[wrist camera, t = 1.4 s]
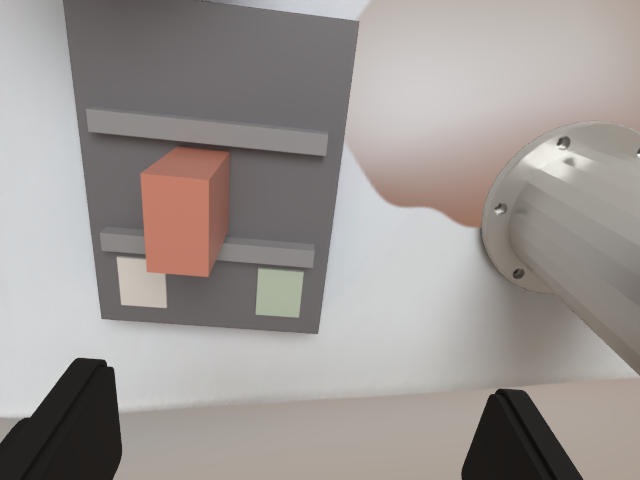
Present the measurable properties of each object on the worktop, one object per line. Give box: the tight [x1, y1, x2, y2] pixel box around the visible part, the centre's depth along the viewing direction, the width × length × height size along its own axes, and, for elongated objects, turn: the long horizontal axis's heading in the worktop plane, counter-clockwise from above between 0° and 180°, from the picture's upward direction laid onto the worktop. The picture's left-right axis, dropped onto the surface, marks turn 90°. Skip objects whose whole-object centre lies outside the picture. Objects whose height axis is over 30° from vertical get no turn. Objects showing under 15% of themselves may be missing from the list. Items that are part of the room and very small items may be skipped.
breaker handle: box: [140, 146, 230, 277], centre depth 22 cm, size 3×5×6 cm, turn 174°
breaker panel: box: [63, 0, 359, 334], centre depth 26 cm, size 15×20×4 cm
